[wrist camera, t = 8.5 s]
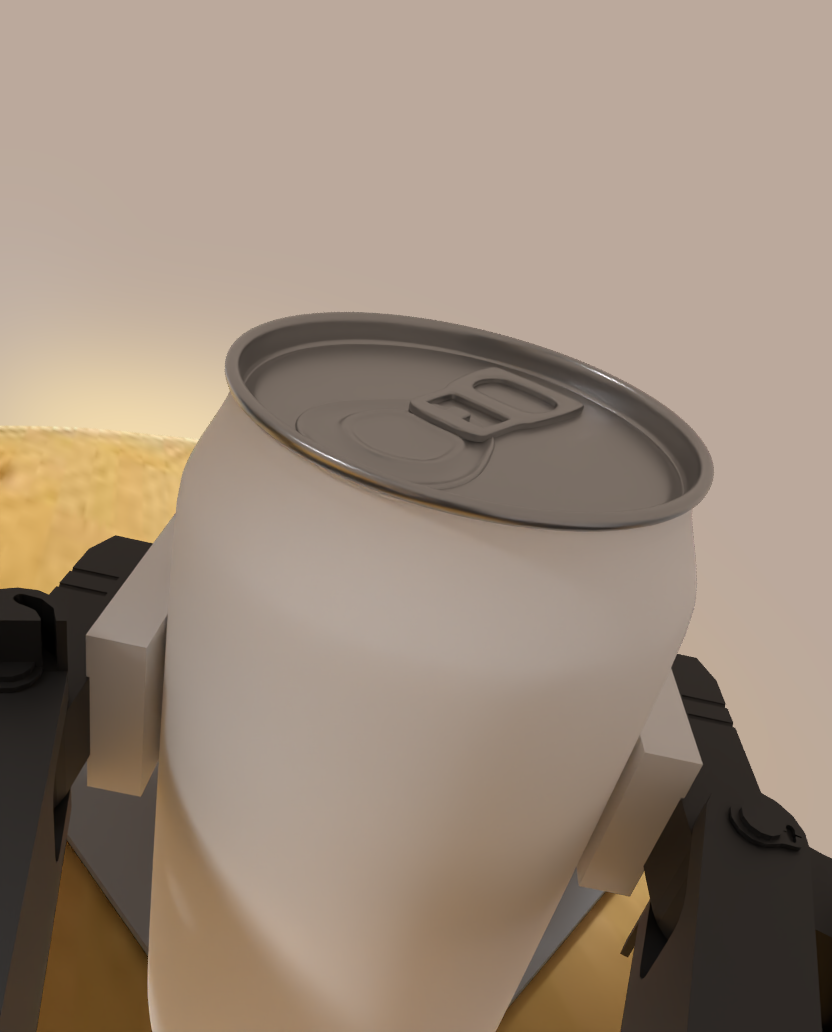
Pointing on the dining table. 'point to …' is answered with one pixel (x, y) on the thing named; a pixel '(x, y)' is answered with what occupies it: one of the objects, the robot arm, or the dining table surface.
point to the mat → (129, 864)
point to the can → (402, 668)
